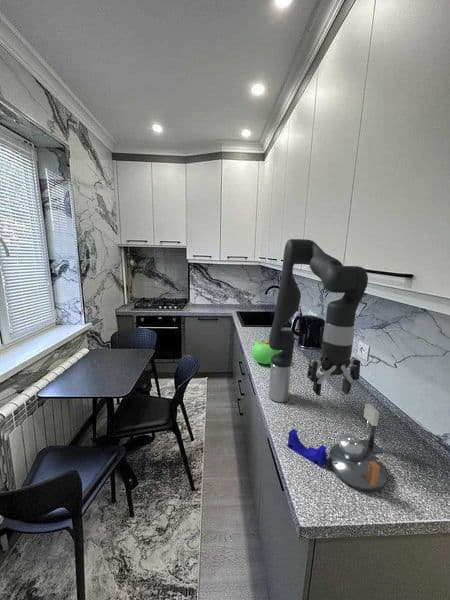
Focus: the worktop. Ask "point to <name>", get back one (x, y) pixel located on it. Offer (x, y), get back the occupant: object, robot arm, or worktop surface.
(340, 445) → the cover
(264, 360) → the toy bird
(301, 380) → the worktop surface
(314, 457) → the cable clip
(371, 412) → the grey stand with block
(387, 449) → the worktop surface
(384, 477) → the grey pot lid
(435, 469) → the worktop surface
